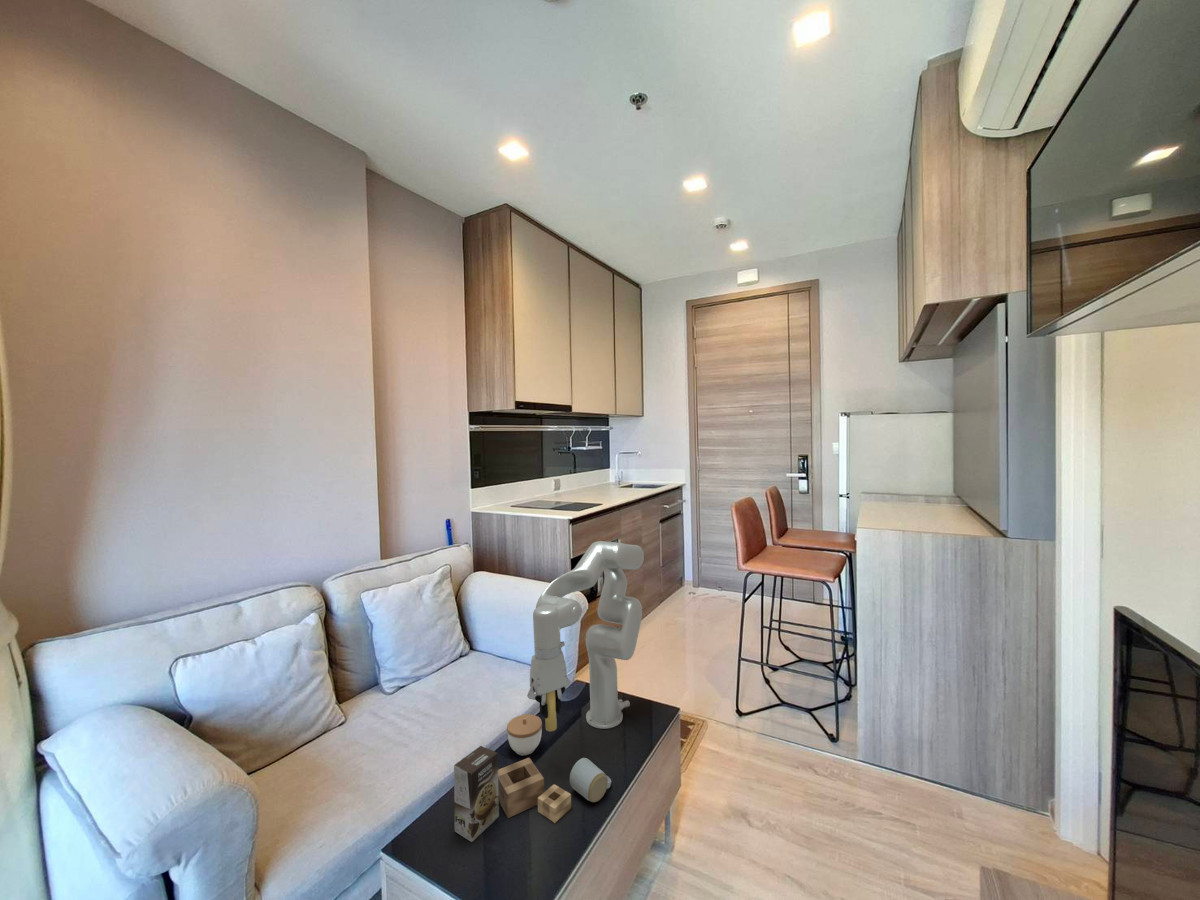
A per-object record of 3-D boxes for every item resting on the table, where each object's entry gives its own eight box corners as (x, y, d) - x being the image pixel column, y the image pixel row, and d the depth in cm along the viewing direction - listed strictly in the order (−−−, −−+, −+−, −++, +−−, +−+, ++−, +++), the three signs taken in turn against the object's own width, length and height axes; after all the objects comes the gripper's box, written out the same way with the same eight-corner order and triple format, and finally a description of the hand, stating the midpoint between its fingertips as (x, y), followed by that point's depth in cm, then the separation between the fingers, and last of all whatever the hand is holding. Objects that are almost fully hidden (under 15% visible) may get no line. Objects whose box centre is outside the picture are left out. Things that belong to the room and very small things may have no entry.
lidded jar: (546, 738, 145) (545, 709, 145) (538, 761, 135) (537, 729, 135) (513, 737, 146) (512, 708, 147) (502, 759, 136) (502, 728, 136)
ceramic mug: (589, 810, 115) (589, 779, 116) (568, 794, 121) (568, 764, 122) (618, 789, 123) (618, 760, 123) (597, 774, 129) (597, 747, 129)
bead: (529, 778, 127) (529, 757, 127) (544, 801, 119) (543, 778, 119) (494, 793, 122) (494, 771, 122) (508, 818, 114) (507, 794, 114)
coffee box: (472, 843, 107) (470, 774, 107) (453, 832, 110) (452, 764, 110) (500, 816, 114) (498, 752, 114) (482, 806, 118) (480, 744, 118)
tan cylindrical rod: (553, 723, 133) (551, 677, 133) (558, 728, 130) (556, 681, 130) (543, 726, 131) (541, 680, 131) (548, 732, 128) (546, 685, 128)
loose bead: (554, 797, 120) (554, 784, 120) (571, 807, 116) (570, 794, 117) (537, 811, 116) (537, 797, 116) (554, 823, 112) (554, 808, 112)
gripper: (567, 638, 138) (569, 698, 138) (515, 653, 129) (518, 717, 129) (579, 647, 131) (581, 710, 132) (526, 663, 123) (529, 730, 123)
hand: (550, 713), depth 130 cm, fingers closed on tan cylindrical rod, 3 cm apart
